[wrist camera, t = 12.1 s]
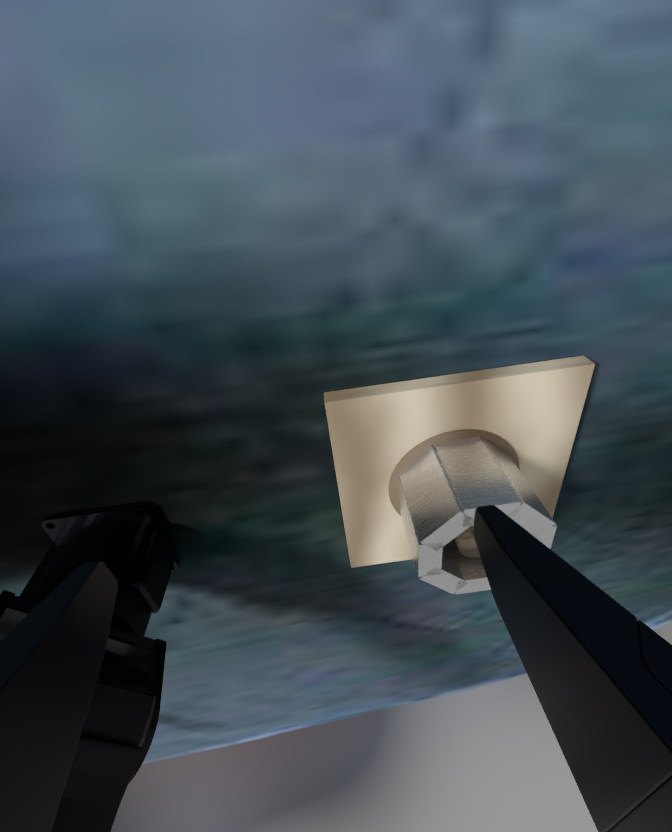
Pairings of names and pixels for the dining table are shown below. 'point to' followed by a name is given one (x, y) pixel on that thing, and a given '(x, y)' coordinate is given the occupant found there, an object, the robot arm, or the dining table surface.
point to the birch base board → (448, 438)
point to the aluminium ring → (462, 508)
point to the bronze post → (467, 543)
